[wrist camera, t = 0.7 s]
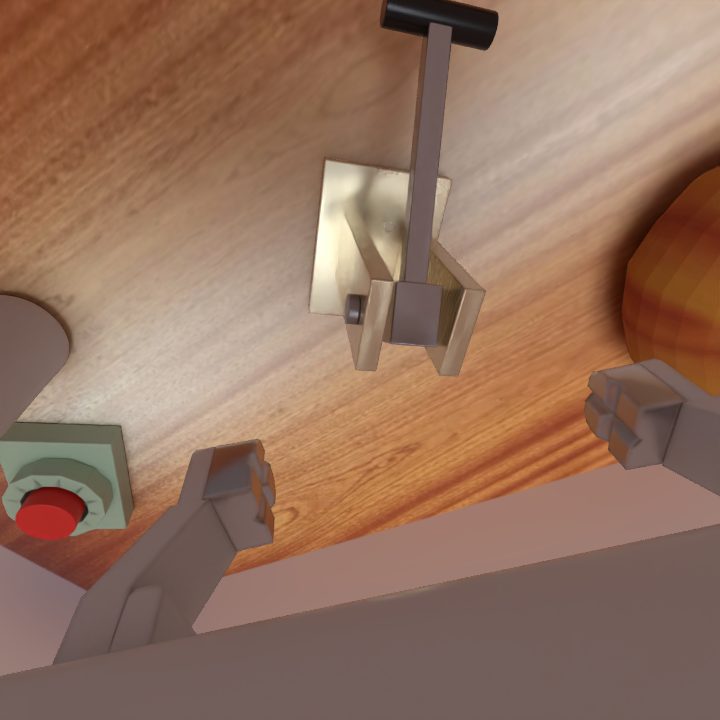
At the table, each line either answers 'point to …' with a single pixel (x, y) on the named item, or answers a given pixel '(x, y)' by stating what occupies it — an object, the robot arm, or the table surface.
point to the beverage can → (26, 355)
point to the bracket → (383, 262)
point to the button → (50, 513)
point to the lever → (427, 153)
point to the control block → (69, 469)
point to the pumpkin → (679, 287)
